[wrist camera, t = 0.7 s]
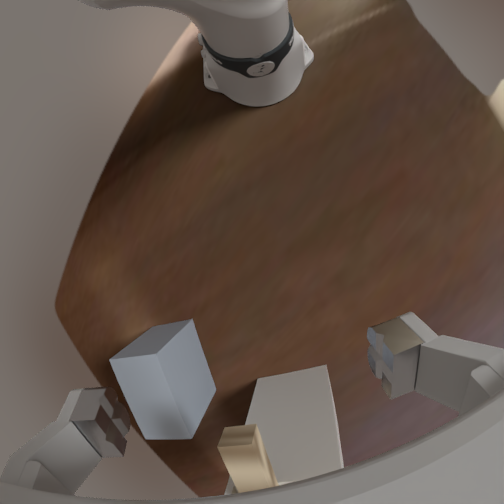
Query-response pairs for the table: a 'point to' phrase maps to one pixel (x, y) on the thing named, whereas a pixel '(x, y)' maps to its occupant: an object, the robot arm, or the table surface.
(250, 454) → the mallet
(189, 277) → the table surface
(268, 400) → the stand
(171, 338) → the block
